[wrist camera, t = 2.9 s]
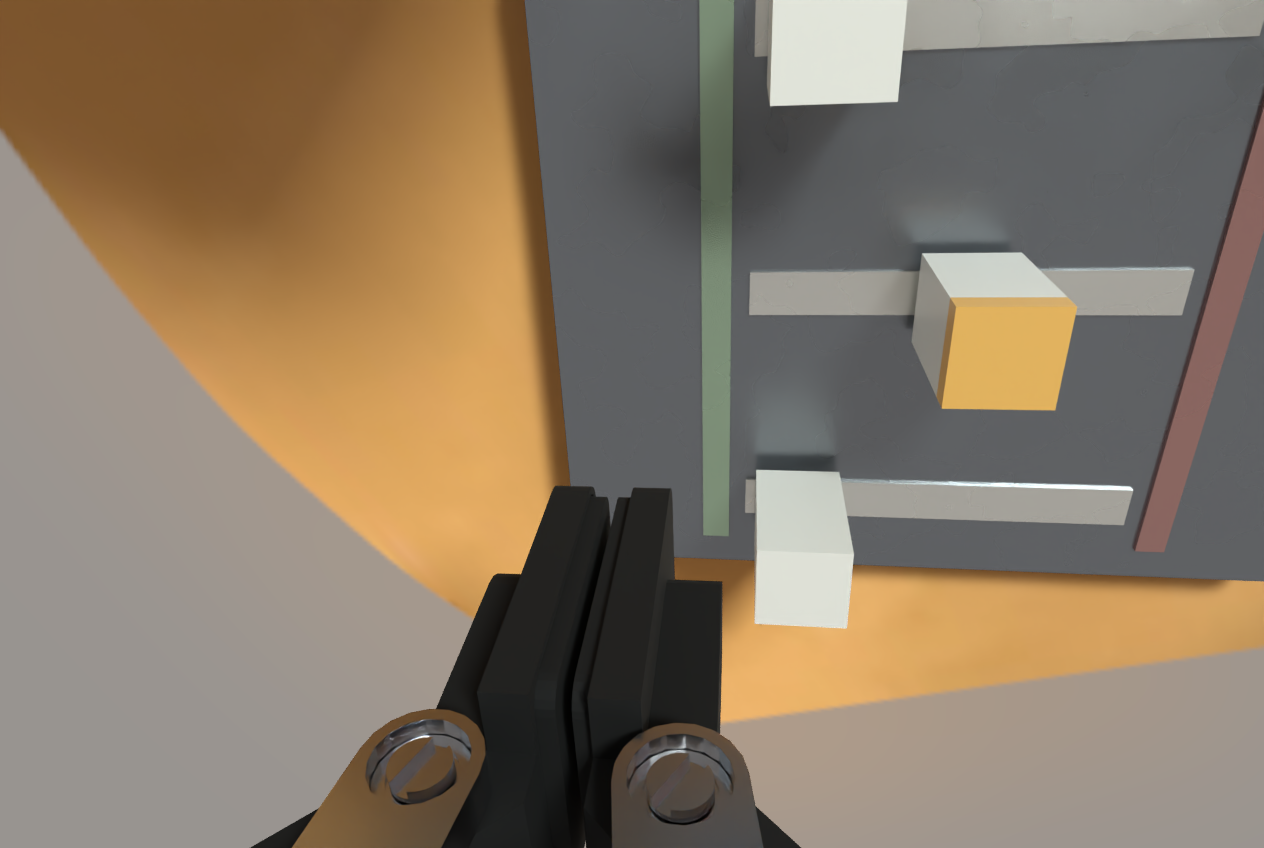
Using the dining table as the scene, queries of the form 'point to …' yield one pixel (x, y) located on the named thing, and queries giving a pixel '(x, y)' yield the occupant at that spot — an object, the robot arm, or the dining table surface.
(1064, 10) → the panel
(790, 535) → the block
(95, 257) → the dining table surface
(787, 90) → the block
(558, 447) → the dining table surface
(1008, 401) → the block
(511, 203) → the dining table surface
